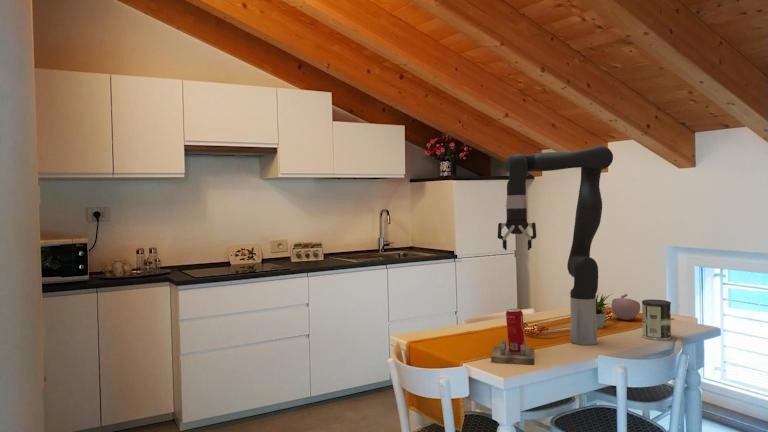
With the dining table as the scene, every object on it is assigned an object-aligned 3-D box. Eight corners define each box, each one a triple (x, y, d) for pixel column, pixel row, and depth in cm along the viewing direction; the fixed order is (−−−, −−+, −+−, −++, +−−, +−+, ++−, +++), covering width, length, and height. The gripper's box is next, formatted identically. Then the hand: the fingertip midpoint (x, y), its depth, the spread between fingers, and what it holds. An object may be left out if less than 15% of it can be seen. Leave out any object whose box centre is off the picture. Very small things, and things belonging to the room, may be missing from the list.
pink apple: (642, 318, 257) (642, 293, 257) (638, 323, 247) (638, 297, 247) (614, 316, 264) (613, 291, 263) (609, 321, 254) (608, 295, 253)
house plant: (570, 327, 243) (569, 289, 243) (585, 321, 253) (584, 285, 253) (602, 332, 233) (602, 292, 233) (617, 326, 243) (616, 288, 242)
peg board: (534, 353, 203) (534, 338, 203) (533, 364, 190) (533, 348, 190) (494, 351, 207) (494, 336, 207) (491, 362, 194) (491, 346, 194)
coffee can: (666, 334, 227) (666, 299, 227) (674, 340, 217) (674, 304, 217) (639, 333, 230) (639, 299, 229) (645, 340, 219) (645, 303, 219)
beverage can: (526, 354, 195) (525, 311, 194) (506, 354, 196) (505, 311, 196) (525, 350, 201) (524, 307, 200) (506, 349, 202) (505, 307, 202)
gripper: (536, 206, 217) (536, 249, 217) (498, 207, 221) (498, 249, 221) (535, 207, 209) (536, 251, 210) (496, 207, 213) (497, 250, 214)
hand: (517, 250), depth 215 cm, fingers open, 8 cm apart
